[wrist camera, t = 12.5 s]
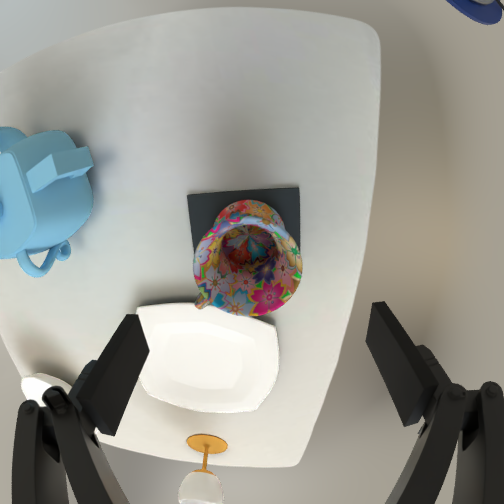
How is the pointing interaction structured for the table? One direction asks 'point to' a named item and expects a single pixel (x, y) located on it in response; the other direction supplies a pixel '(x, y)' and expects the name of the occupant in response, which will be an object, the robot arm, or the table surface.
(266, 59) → the table surface
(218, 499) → the cup
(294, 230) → the left mat
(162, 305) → the plate
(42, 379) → the bowl
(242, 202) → the mug
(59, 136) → the teapot
